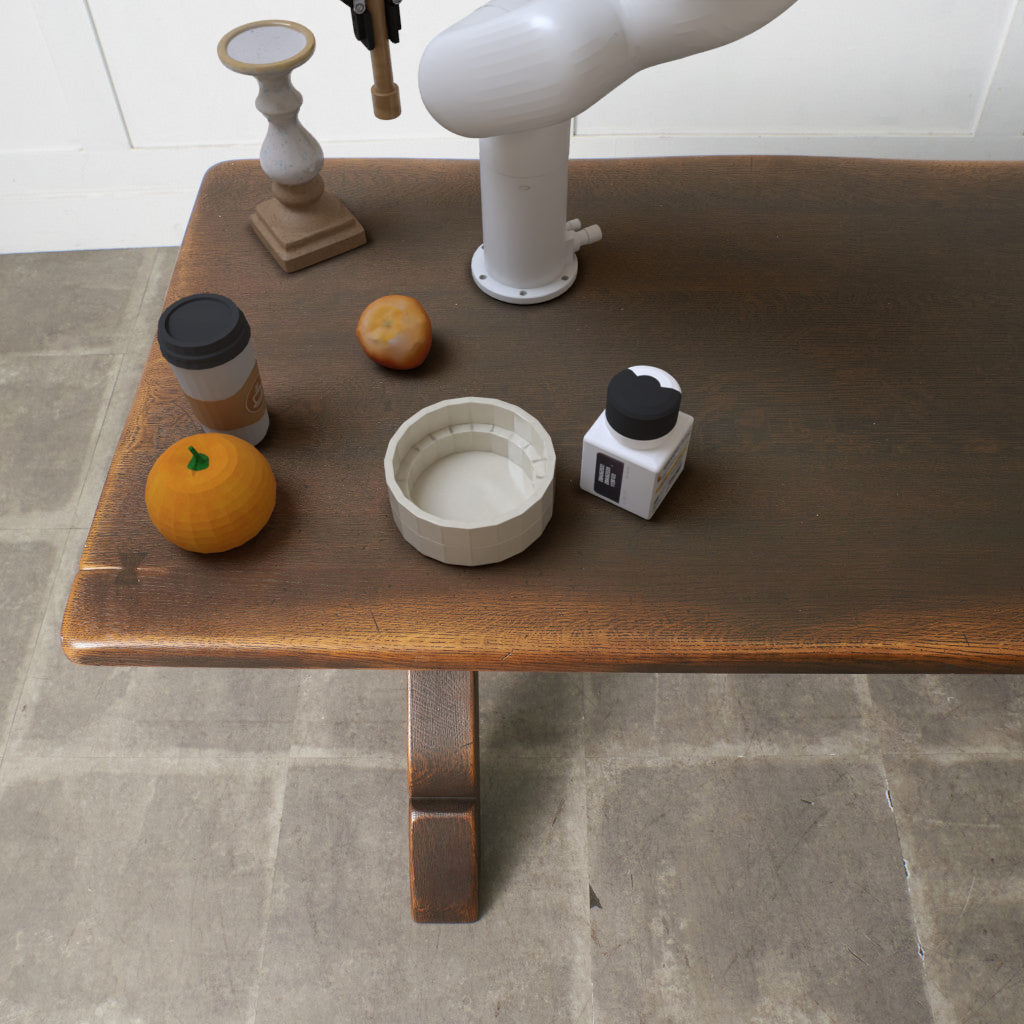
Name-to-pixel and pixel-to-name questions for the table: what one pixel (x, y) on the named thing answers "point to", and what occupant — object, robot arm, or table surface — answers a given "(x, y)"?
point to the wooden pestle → (382, 66)
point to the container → (637, 441)
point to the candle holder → (289, 149)
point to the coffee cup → (215, 364)
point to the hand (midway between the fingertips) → (379, 40)
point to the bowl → (471, 480)
